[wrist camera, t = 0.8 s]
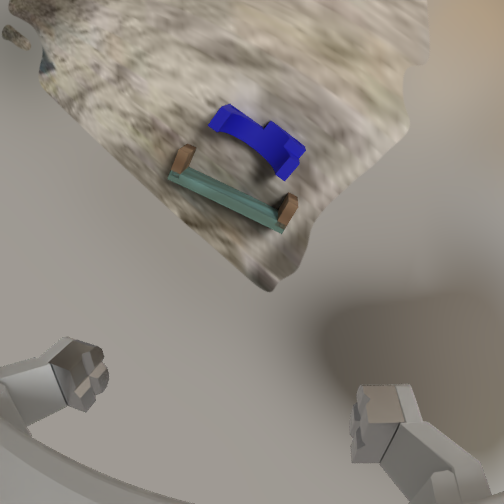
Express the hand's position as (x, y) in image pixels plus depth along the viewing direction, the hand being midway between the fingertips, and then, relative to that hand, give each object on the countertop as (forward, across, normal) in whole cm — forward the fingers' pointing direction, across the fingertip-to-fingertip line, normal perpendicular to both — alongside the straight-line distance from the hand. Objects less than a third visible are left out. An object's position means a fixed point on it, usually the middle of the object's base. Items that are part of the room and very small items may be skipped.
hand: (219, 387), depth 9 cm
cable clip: (+38, +4, -10) cm, 40 cm away
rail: (+39, +8, -2) cm, 40 cm away
